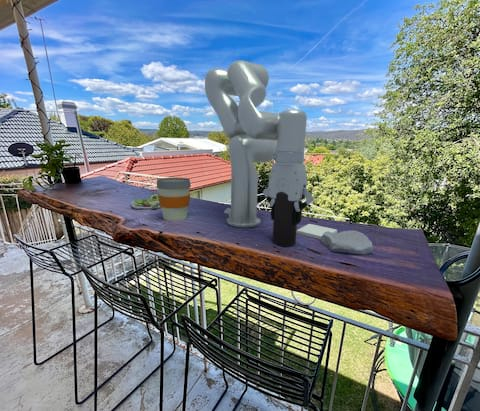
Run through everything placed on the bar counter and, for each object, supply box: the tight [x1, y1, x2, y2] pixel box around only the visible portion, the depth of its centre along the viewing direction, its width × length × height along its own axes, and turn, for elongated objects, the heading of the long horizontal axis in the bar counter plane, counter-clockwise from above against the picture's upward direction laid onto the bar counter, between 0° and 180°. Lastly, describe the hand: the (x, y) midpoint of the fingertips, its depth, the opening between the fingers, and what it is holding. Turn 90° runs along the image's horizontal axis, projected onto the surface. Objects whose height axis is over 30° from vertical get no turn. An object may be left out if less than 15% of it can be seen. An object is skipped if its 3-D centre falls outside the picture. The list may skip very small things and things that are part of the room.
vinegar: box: [272, 192, 299, 247], centre depth 69 cm, size 7×7×20 cm
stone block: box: [320, 230, 374, 256], centre depth 69 cm, size 12×5×10 cm
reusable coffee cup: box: [156, 177, 192, 222], centre depth 93 cm, size 13×13×15 cm
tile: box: [296, 223, 338, 240], centre depth 80 cm, size 10×10×1 cm
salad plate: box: [130, 193, 162, 211], centre depth 113 cm, size 19×18×5 cm
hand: (285, 220), depth 70 cm, fingers closed on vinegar, 6 cm apart
